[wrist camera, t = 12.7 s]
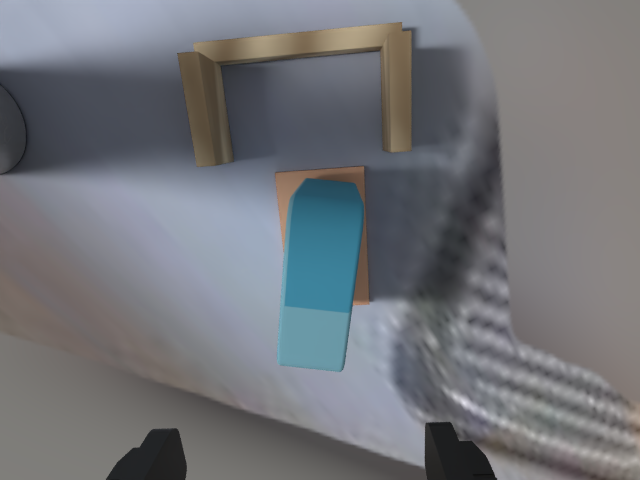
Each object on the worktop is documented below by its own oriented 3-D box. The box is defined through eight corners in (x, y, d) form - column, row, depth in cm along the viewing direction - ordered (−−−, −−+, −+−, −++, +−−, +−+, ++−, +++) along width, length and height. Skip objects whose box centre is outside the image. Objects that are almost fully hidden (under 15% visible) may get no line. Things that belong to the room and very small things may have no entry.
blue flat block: (340, 301, 34) (342, 383, 23) (295, 296, 34) (274, 375, 23) (355, 180, 31) (366, 205, 19) (305, 175, 31) (287, 197, 20)
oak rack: (218, 162, 32) (196, 167, 27) (200, 47, 29) (173, 29, 24) (399, 149, 31) (411, 150, 26) (398, 28, 28) (411, 5, 23)
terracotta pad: (290, 305, 35) (289, 308, 35) (276, 172, 32) (274, 172, 31) (368, 301, 35) (369, 304, 34) (363, 166, 31) (363, 166, 31)
